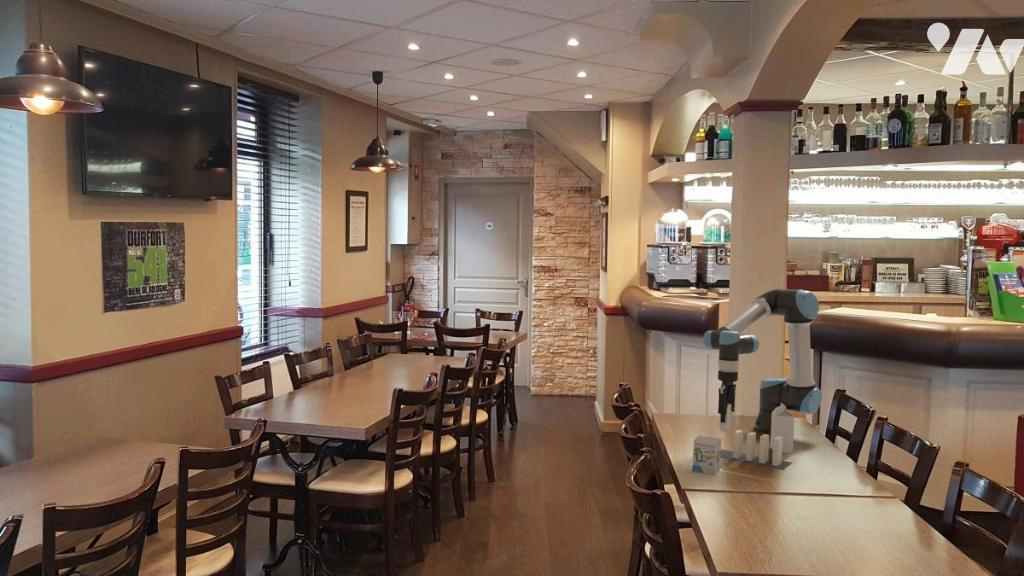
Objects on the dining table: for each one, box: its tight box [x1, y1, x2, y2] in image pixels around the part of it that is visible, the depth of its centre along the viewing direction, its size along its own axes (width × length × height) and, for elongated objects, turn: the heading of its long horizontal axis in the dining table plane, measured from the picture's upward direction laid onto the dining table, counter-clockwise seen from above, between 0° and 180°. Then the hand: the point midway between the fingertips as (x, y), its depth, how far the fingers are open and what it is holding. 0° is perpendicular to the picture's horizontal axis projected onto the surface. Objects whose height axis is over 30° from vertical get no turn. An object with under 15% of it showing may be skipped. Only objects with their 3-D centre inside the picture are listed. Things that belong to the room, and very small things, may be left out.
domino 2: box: [745, 431, 757, 461], centre depth 280 cm, size 5×2×10 cm, turn 145°
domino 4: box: [772, 436, 783, 466], centre depth 274 cm, size 5×2×10 cm, turn 144°
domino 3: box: [758, 433, 770, 463], centre depth 277 cm, size 5×2×10 cm, turn 145°
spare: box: [720, 404, 731, 432], centre depth 285 cm, size 5×2×10 cm, turn 145°
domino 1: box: [732, 429, 744, 459], centre depth 283 cm, size 5×2×10 cm, turn 145°
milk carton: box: [769, 403, 795, 454], centre depth 293 cm, size 7×7×19 cm
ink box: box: [691, 435, 722, 476], centre depth 266 cm, size 8×8×12 cm
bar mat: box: [720, 448, 793, 471], centre depth 280 cm, size 12×28×1 cm, turn 55°
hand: (725, 429), depth 285 cm, fingers closed on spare, 5 cm apart
